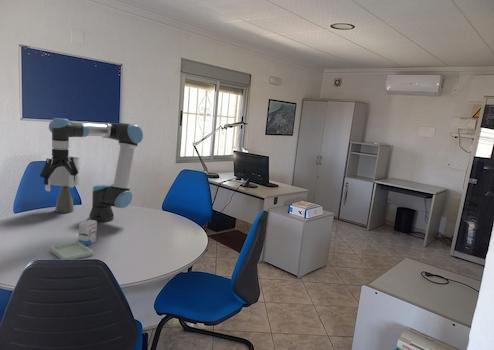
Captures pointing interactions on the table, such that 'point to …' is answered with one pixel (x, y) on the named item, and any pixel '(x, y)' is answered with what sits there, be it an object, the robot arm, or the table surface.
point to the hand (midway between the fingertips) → (59, 189)
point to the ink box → (87, 232)
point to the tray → (71, 251)
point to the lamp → (64, 186)
